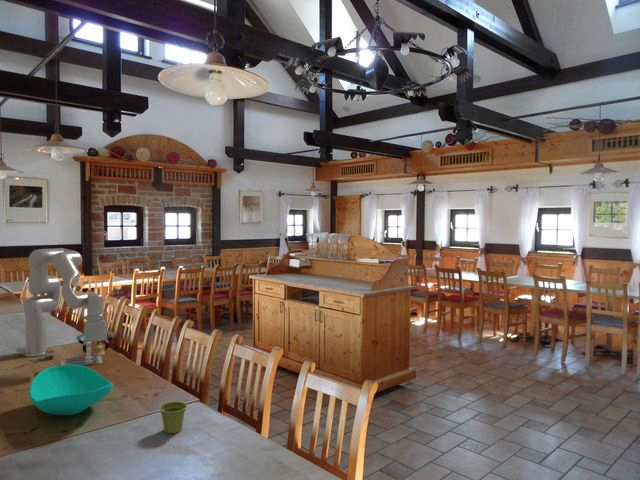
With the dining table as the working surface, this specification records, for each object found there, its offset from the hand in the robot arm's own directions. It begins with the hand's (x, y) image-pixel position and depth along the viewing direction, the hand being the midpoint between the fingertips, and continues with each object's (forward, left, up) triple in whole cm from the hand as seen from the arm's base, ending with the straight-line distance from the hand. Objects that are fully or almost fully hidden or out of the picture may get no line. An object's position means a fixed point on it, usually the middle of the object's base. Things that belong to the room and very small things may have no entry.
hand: (95, 351), depth 234 cm
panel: (-6, +4, -7) cm, 11 cm away
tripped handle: (-3, 0, -6) cm, 7 cm away
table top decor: (-12, -56, -8) cm, 58 cm away
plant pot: (+20, -91, -8) cm, 93 cm away
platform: (-21, +20, -8) cm, 30 cm away
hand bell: (+2, +17, -8) cm, 19 cm away
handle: (-3, +8, -6) cm, 10 cm away
